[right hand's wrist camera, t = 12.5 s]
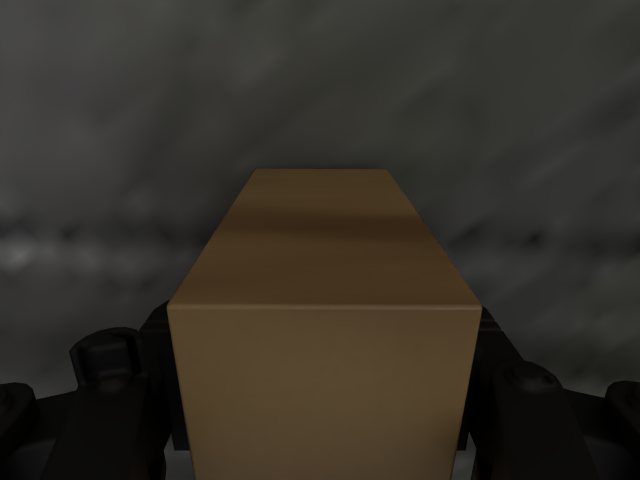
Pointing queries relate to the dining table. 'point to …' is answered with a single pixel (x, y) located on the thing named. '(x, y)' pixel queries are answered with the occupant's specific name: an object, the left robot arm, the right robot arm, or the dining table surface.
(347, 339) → the bar
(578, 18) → the dining table surface
